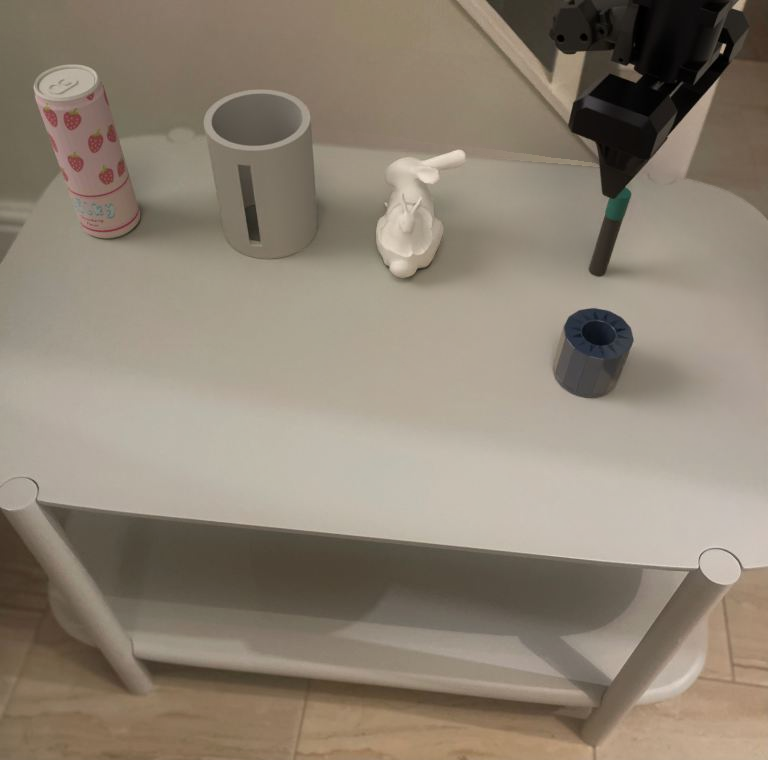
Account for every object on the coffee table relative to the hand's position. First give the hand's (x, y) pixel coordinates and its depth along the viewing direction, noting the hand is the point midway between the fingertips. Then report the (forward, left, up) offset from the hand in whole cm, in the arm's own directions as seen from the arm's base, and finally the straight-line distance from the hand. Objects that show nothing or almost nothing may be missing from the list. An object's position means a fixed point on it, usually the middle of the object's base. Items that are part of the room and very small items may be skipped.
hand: (633, 167), depth 65 cm
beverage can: (+40, -25, -12) cm, 49 cm away
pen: (0, 0, -12) cm, 12 cm away
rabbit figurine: (+14, -10, -12) cm, 21 cm away
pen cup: (+8, +10, -12) cm, 17 cm away
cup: (+26, -18, -12) cm, 34 cm away
